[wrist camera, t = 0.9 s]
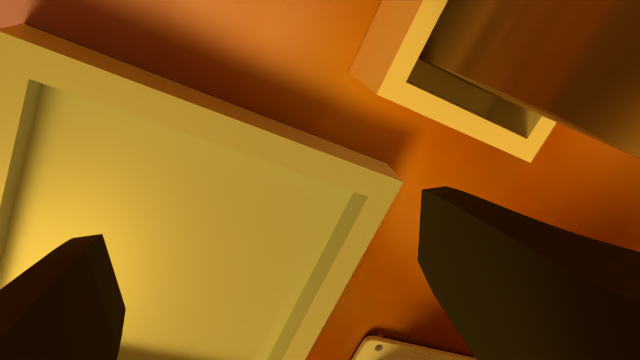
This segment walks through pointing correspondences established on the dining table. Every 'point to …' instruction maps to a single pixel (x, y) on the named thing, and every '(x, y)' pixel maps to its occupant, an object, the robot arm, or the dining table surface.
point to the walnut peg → (550, 60)
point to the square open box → (439, 81)
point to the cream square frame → (180, 202)
